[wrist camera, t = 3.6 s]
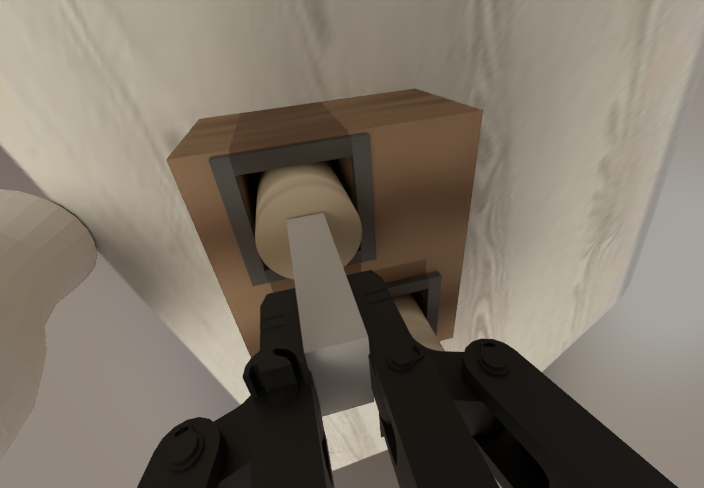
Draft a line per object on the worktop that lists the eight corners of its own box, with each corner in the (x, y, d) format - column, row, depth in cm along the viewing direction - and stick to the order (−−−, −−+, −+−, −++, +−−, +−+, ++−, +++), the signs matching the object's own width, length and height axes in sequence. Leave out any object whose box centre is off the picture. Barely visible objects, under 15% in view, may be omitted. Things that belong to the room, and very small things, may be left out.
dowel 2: (343, 279, 21) (378, 384, 15) (406, 265, 22) (466, 359, 16) (349, 324, 24) (382, 431, 17) (405, 310, 25) (457, 408, 18)
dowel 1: (249, 143, 18) (241, 200, 12) (325, 131, 19) (357, 179, 12) (267, 211, 21) (269, 289, 14) (334, 199, 22) (365, 268, 15)
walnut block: (199, 119, 19) (163, 163, 12) (415, 88, 21) (489, 112, 14) (263, 306, 28) (263, 394, 21) (411, 273, 30) (456, 342, 23)
